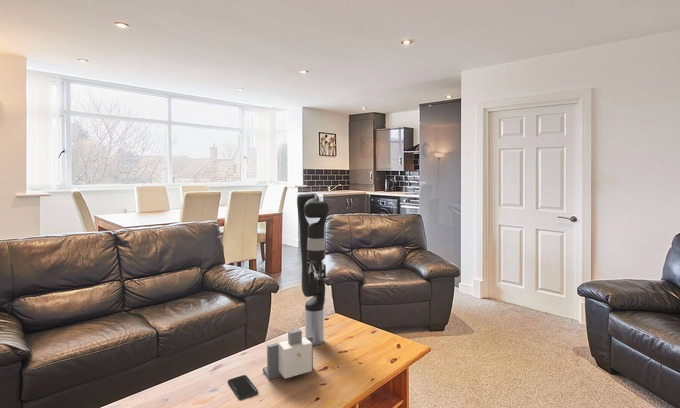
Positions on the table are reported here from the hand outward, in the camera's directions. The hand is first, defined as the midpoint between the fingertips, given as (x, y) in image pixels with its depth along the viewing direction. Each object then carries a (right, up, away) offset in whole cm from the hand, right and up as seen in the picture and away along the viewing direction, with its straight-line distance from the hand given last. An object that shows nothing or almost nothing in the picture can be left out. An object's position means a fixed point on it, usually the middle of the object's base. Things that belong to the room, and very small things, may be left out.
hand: (315, 285), depth 160 cm
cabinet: (-8, -35, -5) cm, 36 cm away
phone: (-28, -39, -12) cm, 49 cm away
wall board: (-11, -37, -1) cm, 39 cm away
